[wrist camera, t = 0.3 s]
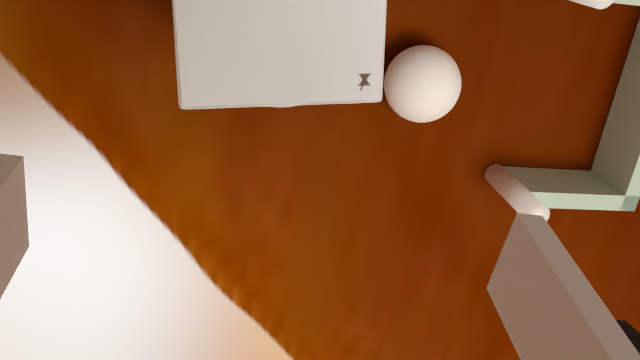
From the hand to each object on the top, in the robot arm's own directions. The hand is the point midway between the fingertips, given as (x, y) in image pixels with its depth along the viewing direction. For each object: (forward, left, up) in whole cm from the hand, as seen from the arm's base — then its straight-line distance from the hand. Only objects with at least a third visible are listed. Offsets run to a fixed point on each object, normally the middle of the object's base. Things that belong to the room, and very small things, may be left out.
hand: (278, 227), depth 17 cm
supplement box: (-4, +1, -26) cm, 26 cm away
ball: (+2, +12, -23) cm, 26 cm away
